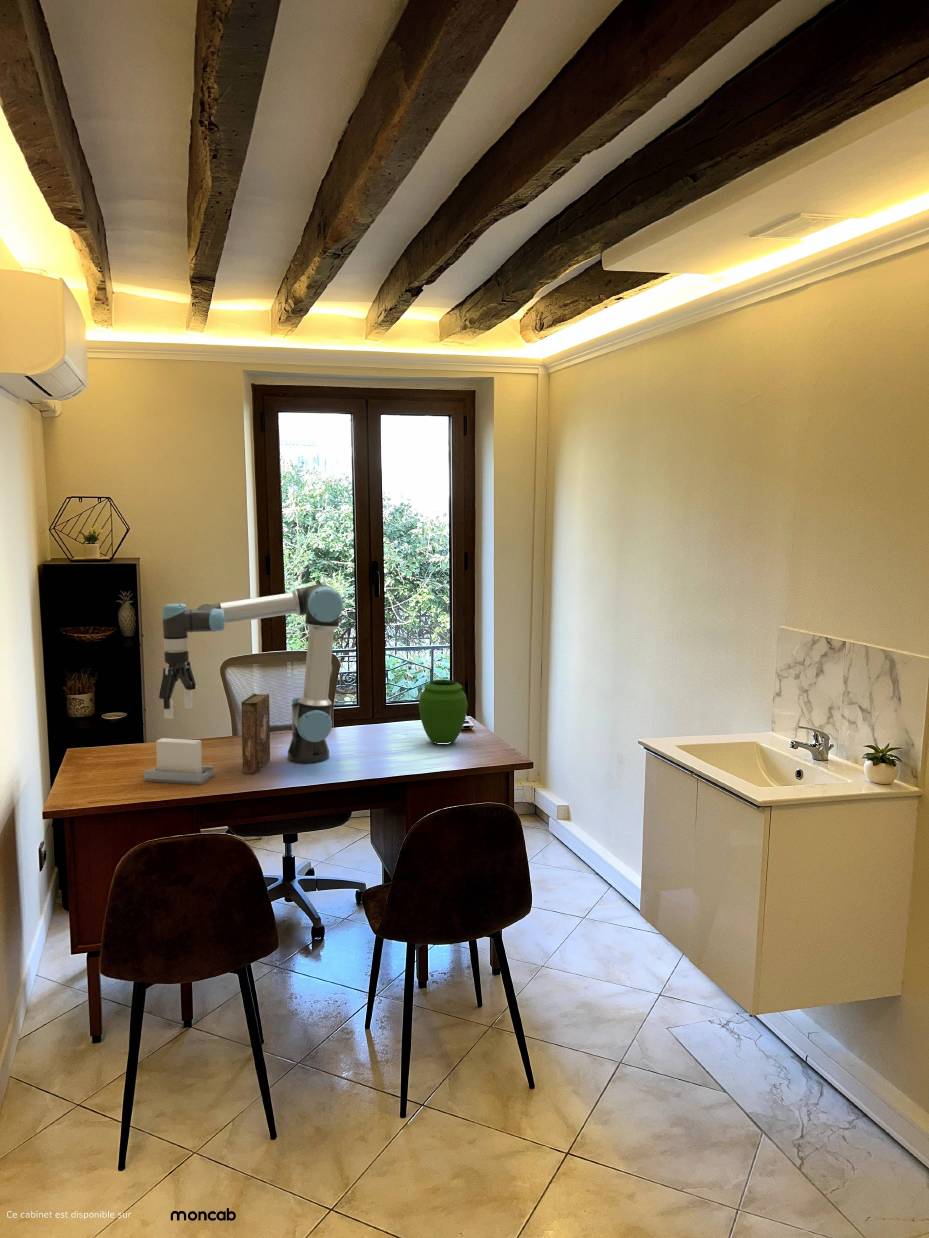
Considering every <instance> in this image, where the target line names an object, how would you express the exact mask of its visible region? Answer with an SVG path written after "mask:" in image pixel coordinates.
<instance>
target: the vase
mask: <svg viewBox="0 0 929 1238" xmlns="http://www.w3.org/2000/svg"><path fill="white" fill-rule="evenodd" d="M468 707H469V704H468V699H467V695H466V693H465V691H463V686H462V685H461V683H459V682H458V681H455V680H451V679H435V680H431V681H429V682H428V683H427V684H425V685H424V690H423V691H422V692H421V693H420V696H419V700H418V709H419V717H420V722H421V724H422V727H423V730H424V732H425V734H426V736H427V738H428V739H429V740H430V742H431V743H433V742H436V743H449V742H453V741H454V742H455V741H456V740H457V739H458V737H459V736H460V734H461V732H462V730H463V727H464V725H465V721H466V717H467V712H468ZM454 742H453V743H454Z"/></svg>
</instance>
